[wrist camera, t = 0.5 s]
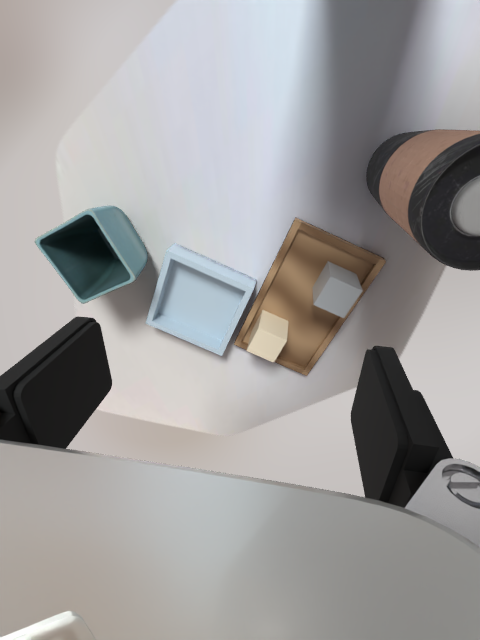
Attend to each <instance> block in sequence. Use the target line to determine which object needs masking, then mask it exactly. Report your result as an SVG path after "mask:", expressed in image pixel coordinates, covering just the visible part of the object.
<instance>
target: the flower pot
mask: <svg viewBox="0 0 480 640" xmlns="http://www.w3.org/2000/svg"><path fill="white" fill-rule="evenodd" d="M35 243H36V245H37V246H38V248H39V249H40V250H41V252H42V253H43V254H44V256H45V257H46V258H47V260H48V261H49V262H50V263H51V264H52V266H53V267H54V269H55V270H56V271H57V272H58V274H59V275H60V277H61V278H62V279H63V280H64V282H65V283H66V284H67V286H68V287H69V289H70V290H71V291H72V293H73V294H74V295H75V297H76V298H77V299H78V300H79V301H80V302H81V303H83V304H84V303H87V302H89V301H91V300H93V299H95V298H98V297H100V296H102V295H104V294H106V293H109V292H111V291H113V290H115V289H118V288H120V287H122V286H125V285H128V284H130V283H132V282H134V281H135V280H136V278H137V277H138V276H139V274H140V273H141V271H142V270H143V268H144V267H145V265H146V263H147V251H146V248H145V246H144V244H143V242H142V241H141V239H140V237H139V236H138V234H137V233H136V231H135V229H134V228H133V226H132V224H131V223H130V221H129V219H128V217H127V216H126V215H125V214H124V212H123V211H122V210H120V209H119V208H117V207H115V206H103V207H97V208H92V209H87V210H85V211H83V212H81V213H80V214H78V215H76V216H75V217H73V218H71V219H70V220H68V221H66V222H65V223H63V224H61V225H59V226H58V227H56V228H54V229H52V230H50V231H48V232H47V233H45V234H43V235H41V236H40V237H38V238H36V239H35Z"/></svg>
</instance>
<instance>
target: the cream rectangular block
mask: <svg viewBox="0 0 480 640" xmlns="http://www.w3.org/2000/svg"><path fill="white" fill-rule="evenodd" d="M287 335H288V321H287V320H285V319H283V318H280V317H278V316H276V315H274V314H271V313H269V312H267V311H265V310H262V312H261V314H260V316H259V318H258V319H257V321H256V323H255V325H254V327H253V329H252V331H251V335H250V339H249V343H248V347H247V351H248V352H250V353H252V354H255V355H257V356H259V357H262V358H264V359H266V360H269V361H271V362H273V363H274V362H275V360H276V358H277V357H278V355H279V353H280V352H281V350H282V348H283V347H284V345H285V343H286V342H287Z"/></svg>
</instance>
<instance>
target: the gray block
mask: <svg viewBox="0 0 480 640" xmlns="http://www.w3.org/2000/svg"><path fill="white" fill-rule="evenodd" d="M312 289H313V305H315V306H317V307H320V308H322V309H324V310H326V311H328V312H331V313H333V314H335V315H337V316H340V317H342V318H344V317H345V316H346V314H347V313H348V312H349V310H350V309H351V307H352V306H353V304H354V303H355V301H356V300H357V299H358V297H359V296H360V294H361V293H362V291H363V290H362V287H361V285H360V282H359V279H358V277H357V274H355V273H353V272H351V271H349V270H346V269H344V268H342V267H340V266H338V265H336V264H333V263H331V262H329V261H328V262H327V263H326V265H325V267H324V269H323V270H322V272H321V274H320V275H319V277H318V279H317V280H316V282H315V284H314V286H313V287H312Z"/></svg>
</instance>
